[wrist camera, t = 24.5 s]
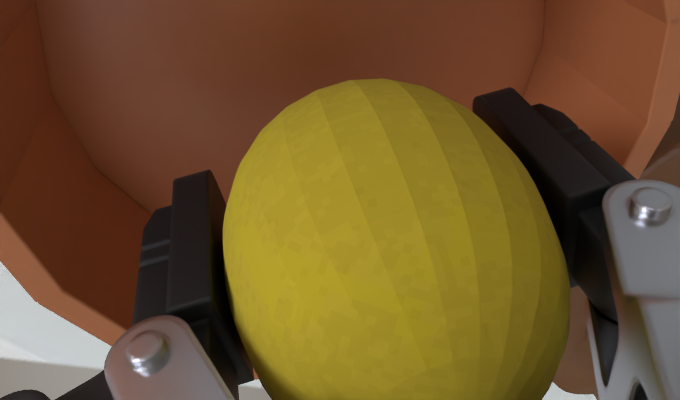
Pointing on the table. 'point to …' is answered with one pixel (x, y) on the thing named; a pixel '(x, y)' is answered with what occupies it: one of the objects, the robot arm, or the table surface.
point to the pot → (267, 104)
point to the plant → (576, 364)
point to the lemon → (392, 253)
